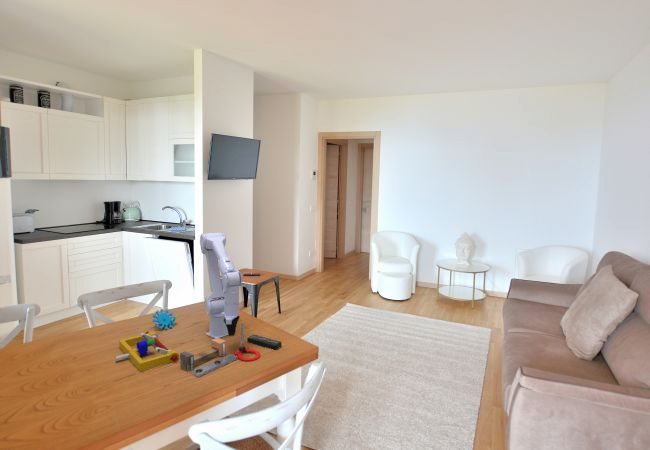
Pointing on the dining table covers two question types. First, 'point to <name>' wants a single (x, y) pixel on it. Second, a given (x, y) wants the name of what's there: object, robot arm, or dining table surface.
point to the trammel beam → (196, 358)
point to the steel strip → (214, 365)
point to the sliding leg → (219, 346)
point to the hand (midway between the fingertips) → (231, 335)
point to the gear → (164, 319)
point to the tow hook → (245, 349)
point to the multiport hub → (264, 342)
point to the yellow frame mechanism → (142, 348)
